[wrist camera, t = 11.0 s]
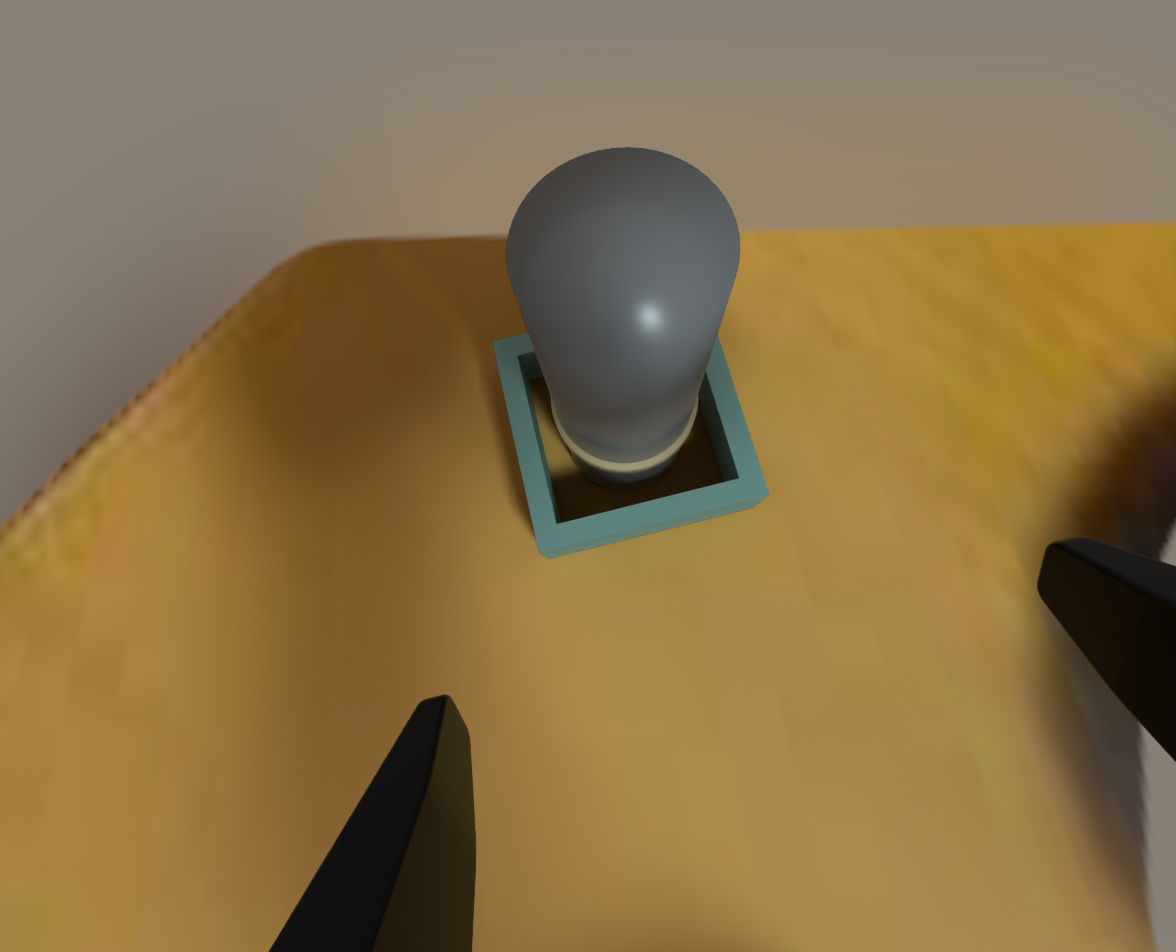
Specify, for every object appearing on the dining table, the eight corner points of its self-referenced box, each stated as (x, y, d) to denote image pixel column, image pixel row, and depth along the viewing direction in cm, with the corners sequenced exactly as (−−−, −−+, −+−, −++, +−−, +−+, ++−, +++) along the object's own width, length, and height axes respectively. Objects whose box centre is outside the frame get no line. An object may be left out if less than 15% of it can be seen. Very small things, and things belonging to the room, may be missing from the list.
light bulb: (705, 408, 24) (787, 190, 11) (653, 515, 23) (684, 403, 11) (597, 361, 24) (567, 110, 12) (544, 463, 23) (454, 302, 11)
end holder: (753, 507, 23) (769, 494, 20) (548, 558, 23) (538, 552, 20) (694, 320, 24) (702, 288, 22) (505, 368, 24) (491, 341, 22)
